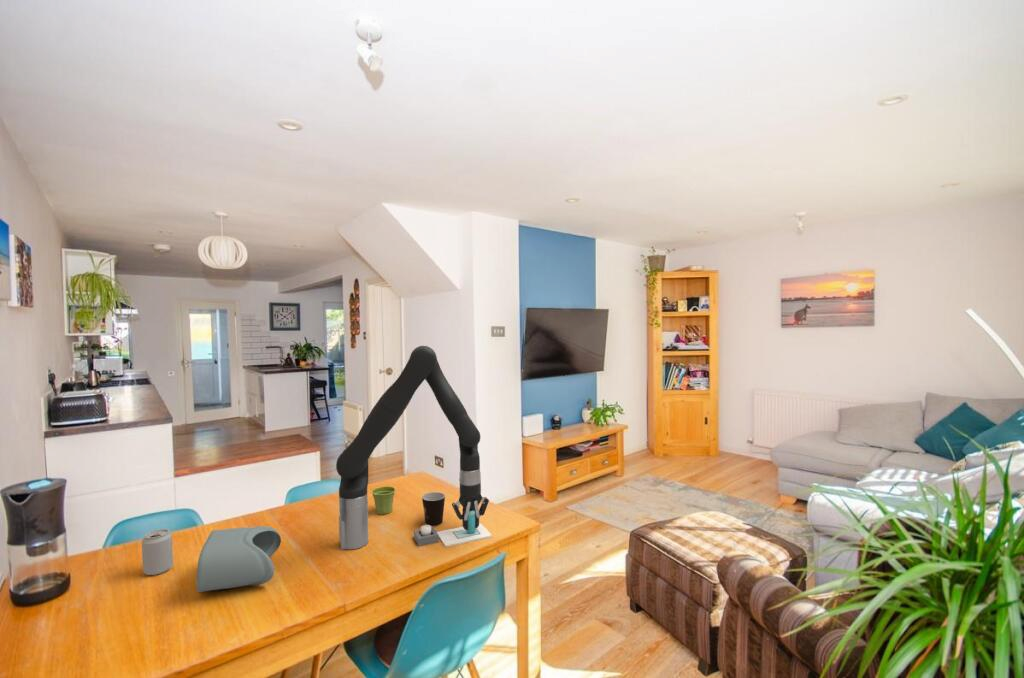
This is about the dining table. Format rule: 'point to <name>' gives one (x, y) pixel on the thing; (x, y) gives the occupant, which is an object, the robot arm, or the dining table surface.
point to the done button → (425, 530)
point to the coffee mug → (433, 508)
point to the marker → (471, 521)
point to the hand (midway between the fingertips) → (471, 528)
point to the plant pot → (383, 499)
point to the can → (157, 552)
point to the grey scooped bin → (237, 558)
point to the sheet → (462, 535)
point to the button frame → (426, 537)
